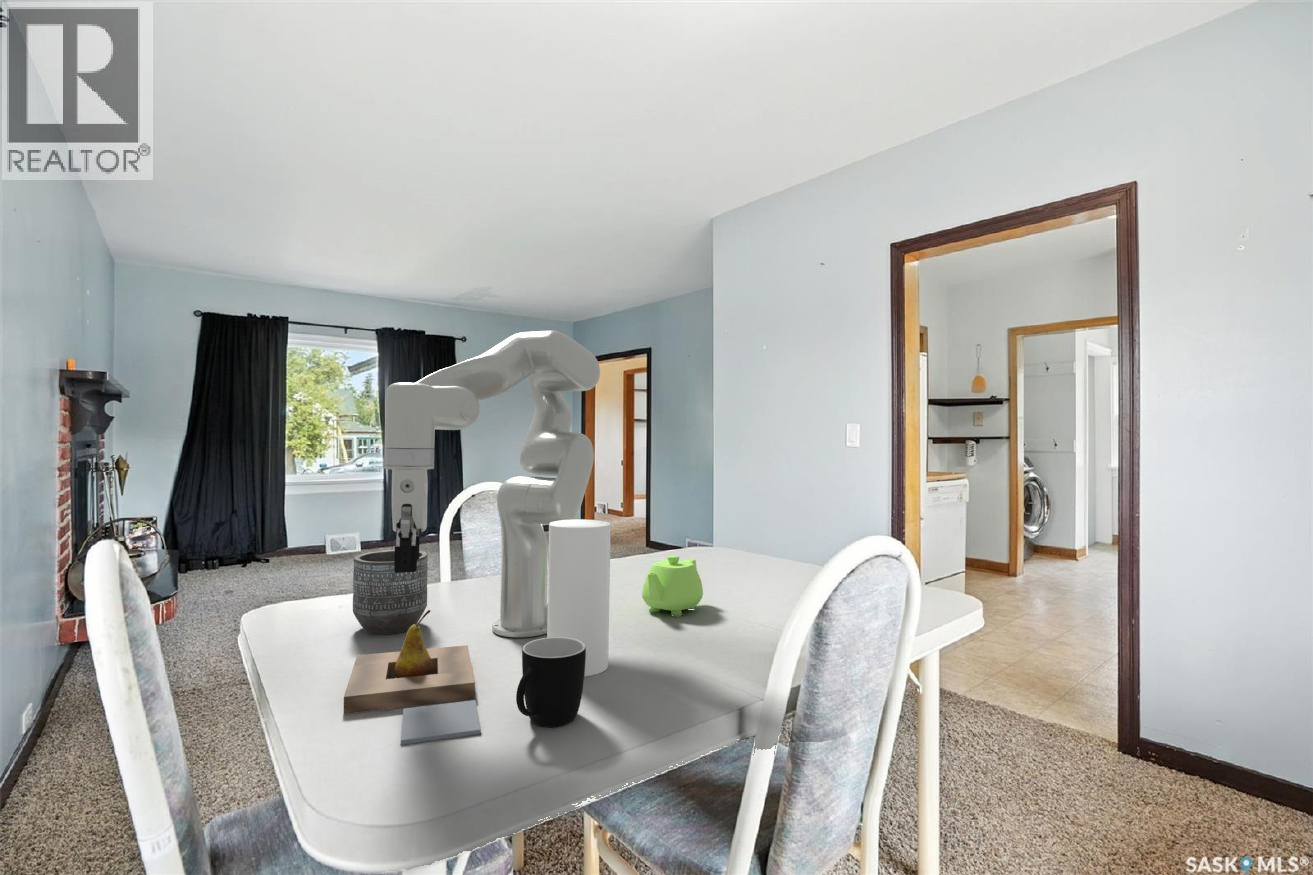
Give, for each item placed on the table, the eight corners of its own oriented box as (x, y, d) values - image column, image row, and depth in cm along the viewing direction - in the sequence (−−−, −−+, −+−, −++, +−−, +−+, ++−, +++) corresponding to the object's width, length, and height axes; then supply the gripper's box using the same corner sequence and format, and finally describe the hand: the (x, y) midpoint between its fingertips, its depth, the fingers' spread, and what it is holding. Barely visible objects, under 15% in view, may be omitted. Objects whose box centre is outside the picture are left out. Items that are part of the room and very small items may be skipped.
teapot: (673, 625, 136) (674, 566, 136) (623, 615, 143) (624, 559, 143) (717, 605, 153) (718, 553, 153) (670, 597, 160) (671, 547, 160)
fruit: (421, 674, 106) (422, 602, 106) (437, 684, 102) (438, 609, 102) (387, 683, 102) (389, 608, 102) (402, 694, 98) (404, 616, 98)
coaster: (475, 704, 95) (475, 700, 95) (480, 733, 85) (480, 729, 85) (403, 712, 91) (403, 708, 91) (400, 744, 82) (400, 740, 82)
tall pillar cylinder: (617, 659, 114) (619, 521, 114) (592, 681, 104) (595, 529, 104) (564, 652, 118) (566, 517, 118) (535, 672, 108) (537, 525, 108)
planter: (336, 632, 127) (337, 558, 127) (390, 614, 140) (391, 547, 140) (390, 642, 122) (391, 564, 122) (441, 622, 135) (442, 552, 135)
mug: (547, 699, 97) (549, 633, 97) (596, 713, 92) (598, 643, 92) (492, 731, 86) (493, 656, 86) (544, 747, 82) (545, 669, 82)
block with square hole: (467, 659, 113) (467, 645, 113) (474, 698, 96) (474, 682, 96) (356, 670, 107) (357, 655, 107) (343, 714, 90) (343, 696, 90)
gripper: (433, 462, 95) (430, 576, 95) (434, 458, 112) (432, 555, 112) (379, 461, 93) (376, 578, 93) (388, 457, 109) (386, 557, 109)
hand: (407, 565), depth 102 cm, fingers open, 9 cm apart
